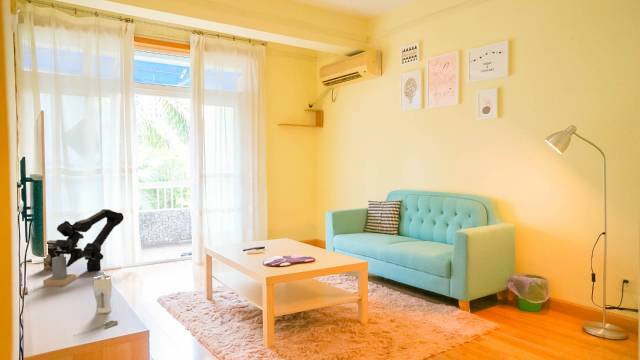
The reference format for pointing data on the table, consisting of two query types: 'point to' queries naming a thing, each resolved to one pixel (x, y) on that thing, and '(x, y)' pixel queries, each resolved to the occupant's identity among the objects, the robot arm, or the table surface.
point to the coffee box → (47, 260)
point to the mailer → (60, 281)
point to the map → (109, 324)
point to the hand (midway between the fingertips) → (58, 266)
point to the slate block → (59, 268)
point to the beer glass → (102, 294)
